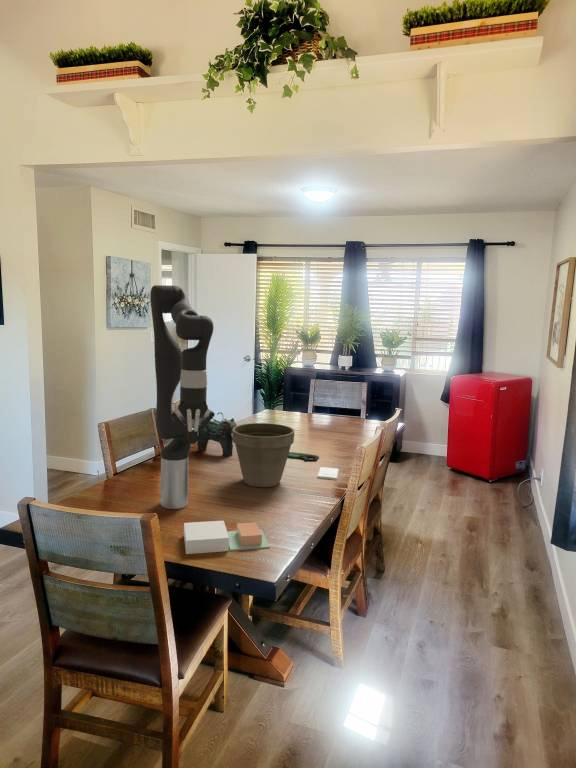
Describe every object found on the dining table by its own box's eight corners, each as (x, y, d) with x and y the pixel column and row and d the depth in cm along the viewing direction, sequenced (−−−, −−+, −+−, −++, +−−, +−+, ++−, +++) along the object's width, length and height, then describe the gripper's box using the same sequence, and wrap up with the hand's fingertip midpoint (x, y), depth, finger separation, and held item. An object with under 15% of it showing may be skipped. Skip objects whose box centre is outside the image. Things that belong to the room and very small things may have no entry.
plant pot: (224, 473, 214) (226, 422, 210) (280, 469, 222) (282, 420, 219) (239, 494, 190) (240, 438, 187) (300, 489, 199) (303, 435, 195)
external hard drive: (338, 472, 224) (336, 481, 212) (319, 470, 225) (316, 479, 213) (338, 468, 224) (336, 477, 212) (320, 466, 225) (317, 475, 213)
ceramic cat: (236, 455, 240) (238, 413, 237) (228, 458, 234) (230, 416, 231) (202, 448, 249) (203, 408, 246) (194, 451, 243) (195, 410, 241)
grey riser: (183, 535, 155) (184, 522, 154) (223, 532, 158) (223, 520, 157) (186, 554, 143) (186, 540, 143) (228, 550, 146) (229, 537, 146)
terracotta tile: (256, 522, 158) (255, 531, 159) (237, 523, 157) (236, 532, 157) (262, 534, 150) (261, 544, 150) (241, 536, 148) (241, 546, 149)
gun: (281, 456, 238) (287, 451, 248) (281, 459, 238) (287, 453, 248) (315, 460, 234) (320, 454, 244) (315, 463, 234) (319, 457, 244)
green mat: (225, 532, 158) (225, 531, 158) (261, 530, 161) (261, 529, 161) (230, 550, 146) (230, 549, 146) (269, 547, 149) (269, 546, 149)
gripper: (215, 383, 153) (213, 439, 155) (169, 382, 149) (169, 440, 152) (218, 387, 146) (216, 446, 148) (170, 386, 142) (169, 447, 145)
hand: (192, 443), depth 150 cm, fingers closed
